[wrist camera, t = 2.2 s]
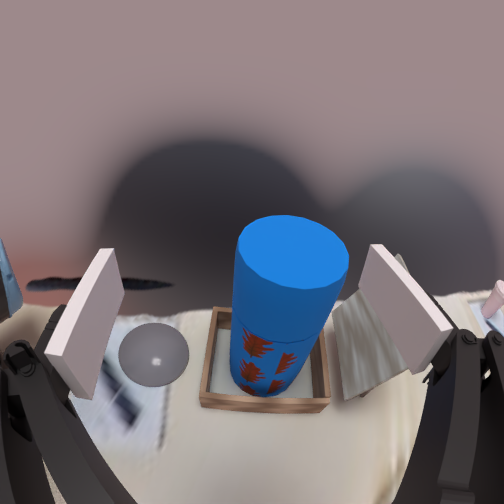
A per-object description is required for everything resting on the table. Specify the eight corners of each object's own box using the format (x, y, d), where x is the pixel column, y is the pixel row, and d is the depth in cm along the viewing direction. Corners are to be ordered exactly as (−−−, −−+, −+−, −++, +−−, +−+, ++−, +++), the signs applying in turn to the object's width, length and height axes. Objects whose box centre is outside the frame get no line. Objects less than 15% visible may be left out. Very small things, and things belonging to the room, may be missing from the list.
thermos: (257, 329, 47) (279, 203, 31) (308, 362, 42) (365, 245, 26) (215, 370, 40) (210, 247, 24) (269, 411, 36) (317, 313, 19)
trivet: (111, 377, 36) (110, 376, 36) (130, 320, 45) (130, 318, 45) (182, 393, 36) (181, 391, 36) (194, 330, 46) (194, 328, 45)
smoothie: (495, 319, 50) (524, 283, 41) (485, 324, 49) (516, 286, 40) (485, 303, 55) (511, 266, 46) (474, 306, 54) (502, 268, 45)
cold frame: (201, 407, 35) (186, 342, 22) (213, 323, 47) (212, 234, 34) (369, 409, 36) (440, 347, 23) (355, 332, 48) (401, 254, 35)
